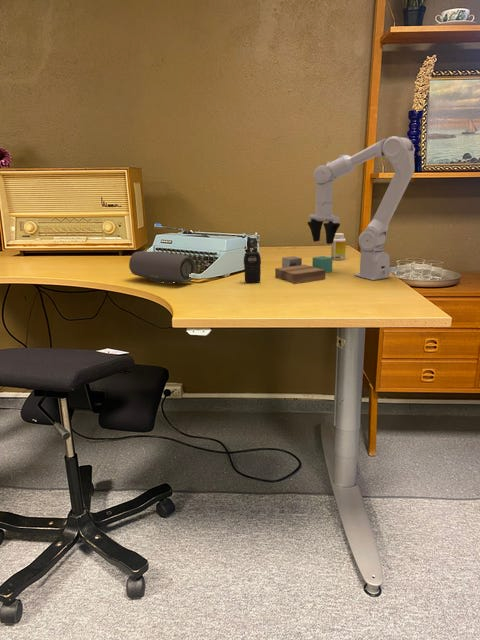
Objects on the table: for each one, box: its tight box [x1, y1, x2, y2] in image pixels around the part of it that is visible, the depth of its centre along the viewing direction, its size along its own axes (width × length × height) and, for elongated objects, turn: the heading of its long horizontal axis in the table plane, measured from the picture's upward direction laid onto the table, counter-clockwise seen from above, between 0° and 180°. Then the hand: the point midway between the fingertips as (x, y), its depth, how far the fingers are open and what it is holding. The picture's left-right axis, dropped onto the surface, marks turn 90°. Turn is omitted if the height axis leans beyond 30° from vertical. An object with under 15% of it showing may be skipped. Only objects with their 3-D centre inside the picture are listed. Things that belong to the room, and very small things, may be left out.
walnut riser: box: [274, 264, 326, 284], centre depth 158 cm, size 12×12×3 cm
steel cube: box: [281, 255, 303, 268], centre depth 169 cm, size 5×5×5 cm
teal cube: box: [311, 255, 334, 274], centre depth 168 cm, size 5×5×5 cm
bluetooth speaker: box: [128, 250, 197, 284], centre depth 157 cm, size 23×9×10 cm, turn 56°
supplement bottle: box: [330, 232, 347, 261], centre depth 189 cm, size 6×6×10 cm
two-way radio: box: [243, 235, 262, 284], centre depth 153 cm, size 6×4×15 cm
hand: (322, 242), depth 165 cm, fingers open, 7 cm apart
